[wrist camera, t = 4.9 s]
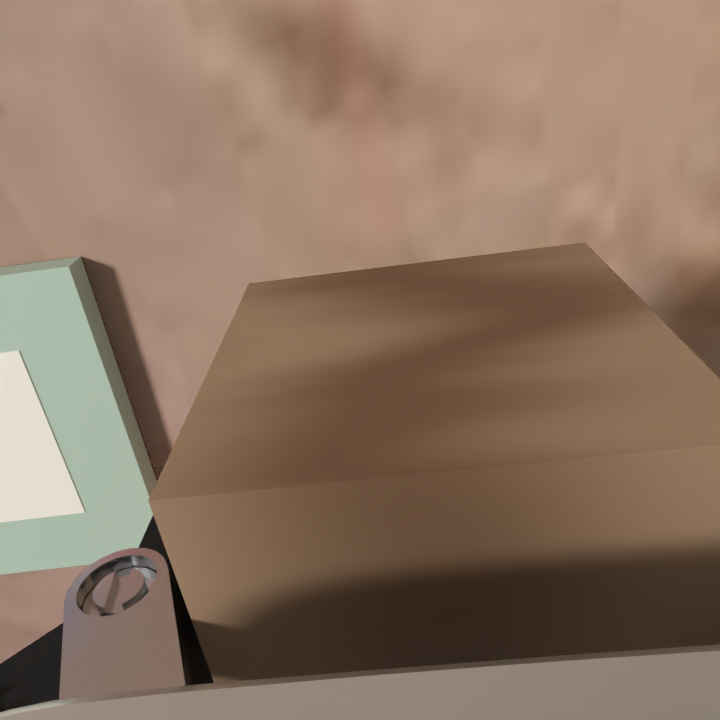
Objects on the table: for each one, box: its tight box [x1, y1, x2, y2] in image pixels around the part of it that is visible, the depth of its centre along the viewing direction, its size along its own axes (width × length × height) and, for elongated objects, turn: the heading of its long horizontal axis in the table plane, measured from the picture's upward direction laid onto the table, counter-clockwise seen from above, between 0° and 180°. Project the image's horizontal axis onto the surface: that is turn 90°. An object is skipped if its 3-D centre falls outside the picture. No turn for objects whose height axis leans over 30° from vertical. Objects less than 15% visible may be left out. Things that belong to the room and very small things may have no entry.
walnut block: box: [148, 243, 720, 683], centre depth 10 cm, size 6×6×6 cm
